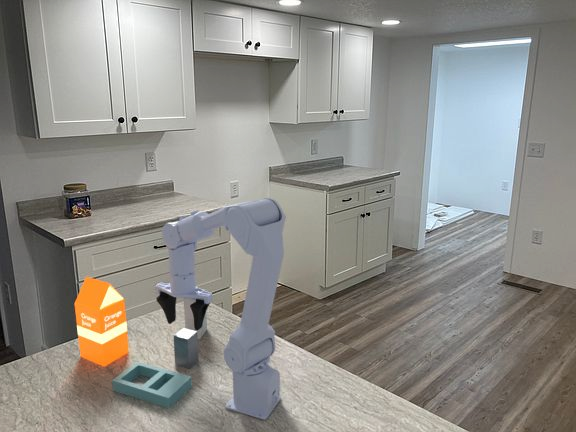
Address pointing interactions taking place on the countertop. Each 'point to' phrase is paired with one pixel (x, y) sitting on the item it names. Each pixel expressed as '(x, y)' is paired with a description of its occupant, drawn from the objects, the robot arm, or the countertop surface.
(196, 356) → the peg
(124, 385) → the holder
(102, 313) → the orange juice
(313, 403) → the countertop surface
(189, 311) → the skincare box
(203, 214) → the robot arm
